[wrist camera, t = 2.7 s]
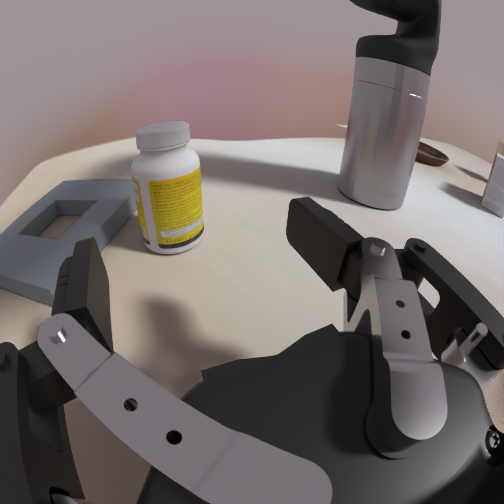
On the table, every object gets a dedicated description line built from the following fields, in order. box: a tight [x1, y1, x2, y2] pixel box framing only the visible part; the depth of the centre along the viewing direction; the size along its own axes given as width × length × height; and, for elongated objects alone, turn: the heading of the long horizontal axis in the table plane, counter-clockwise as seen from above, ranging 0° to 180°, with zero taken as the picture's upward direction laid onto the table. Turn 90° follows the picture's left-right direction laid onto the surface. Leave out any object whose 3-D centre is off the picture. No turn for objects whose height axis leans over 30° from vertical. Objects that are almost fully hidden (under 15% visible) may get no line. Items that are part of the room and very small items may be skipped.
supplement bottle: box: [131, 121, 204, 254], centre depth 20 cm, size 5×5×10 cm
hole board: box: [0, 179, 137, 307], centre depth 23 cm, size 18×14×2 cm
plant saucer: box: [415, 141, 449, 166], centre depth 56 cm, size 18×18×3 cm
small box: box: [481, 153, 504, 218], centre depth 33 cm, size 8×6×10 cm
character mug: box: [496, 141, 504, 157], centre depth 47 cm, size 11×7×13 cm, turn 121°
